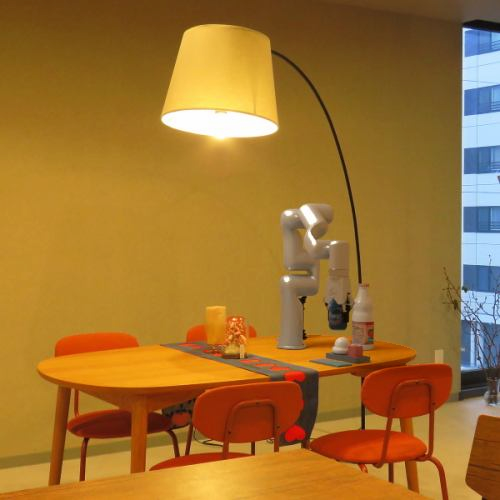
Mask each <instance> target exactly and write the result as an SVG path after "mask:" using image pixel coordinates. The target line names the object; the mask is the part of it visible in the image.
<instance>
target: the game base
mask: <svg viewBox="0 0 500 500" xmlns="http://www.w3.org/2000/svg"><path fill="white" fill-rule="evenodd" d="M328 358H329V360H334V361H340V362H345V363H350V364H364V363H370V362H371V356H369V355H364V354H363V356H361V357H352V356H348V354H337V353H333V351H331V352H325V359H328Z"/></svg>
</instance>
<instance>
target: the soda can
mask: <svg viewBox="0 0 500 500" xmlns="http://www.w3.org/2000/svg"><path fill="white" fill-rule="evenodd" d="M346 303H347V302H346ZM345 307H346V305H345ZM342 312H344V311H343V308H342V305H338V304H337V302H336V301H335V300H334V298H332V300H331V301H330V302H329V321H328V328H329V329H330V331H337V332H338V331H346V330H347V328H348V323H342Z"/></svg>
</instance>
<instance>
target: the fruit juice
mask: <svg viewBox="0 0 500 500" xmlns="http://www.w3.org/2000/svg"><path fill="white" fill-rule="evenodd" d="M357 288H358V291H357V294H356V297H355V298H353V299H354V301H355V304H354V306H353V308H352V309H353V312H352V314H351V315H352V316H351V344H352V345H360V346H363V351H371V350H373V349H374V347H375V343H374V342H375V339H374V338H375V314H374V307H375V302H374V300H373V299H372V297H371V295H370V291H369V288H370V283H357Z"/></svg>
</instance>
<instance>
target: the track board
mask: <svg viewBox="0 0 500 500" xmlns="http://www.w3.org/2000/svg"><path fill="white" fill-rule="evenodd" d="M309 363H313V364H318V365H324V366H329V367H333V368H342V367H349V366H350V367H351V366H353V363H350V362H345V361H339V360H334V359H328V358H316V359H309Z"/></svg>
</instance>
